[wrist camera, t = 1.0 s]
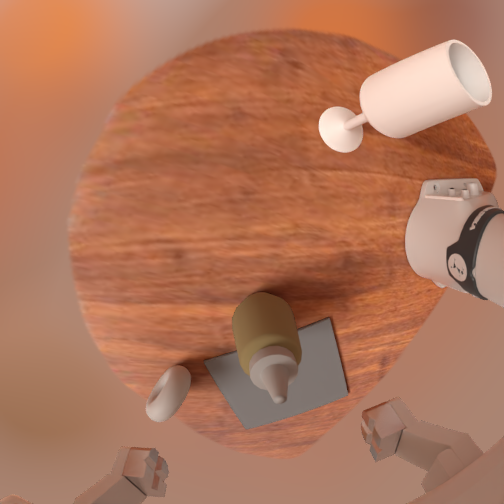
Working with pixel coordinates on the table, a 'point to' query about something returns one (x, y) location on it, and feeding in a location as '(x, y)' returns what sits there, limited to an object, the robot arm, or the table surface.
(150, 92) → the table surface
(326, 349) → the mat
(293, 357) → the squeeze bottle
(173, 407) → the donut
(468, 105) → the champagne flute
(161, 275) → the table surface
